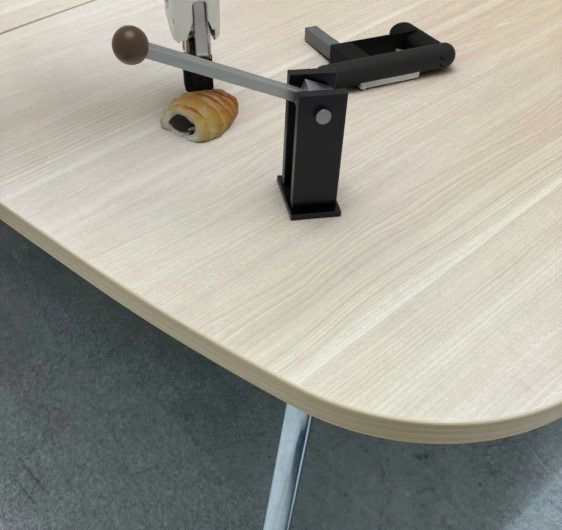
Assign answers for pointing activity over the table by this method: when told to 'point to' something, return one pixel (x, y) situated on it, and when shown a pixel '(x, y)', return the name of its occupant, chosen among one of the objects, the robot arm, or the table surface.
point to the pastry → (200, 114)
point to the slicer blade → (199, 65)
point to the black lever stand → (313, 146)
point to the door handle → (382, 56)
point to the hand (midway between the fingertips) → (198, 87)
